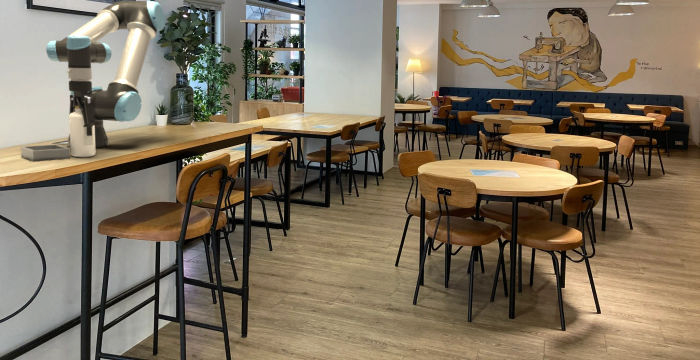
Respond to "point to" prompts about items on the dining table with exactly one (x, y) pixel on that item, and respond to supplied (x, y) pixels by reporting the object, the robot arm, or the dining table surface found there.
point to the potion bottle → (79, 136)
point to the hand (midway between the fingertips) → (82, 143)
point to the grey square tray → (45, 152)
